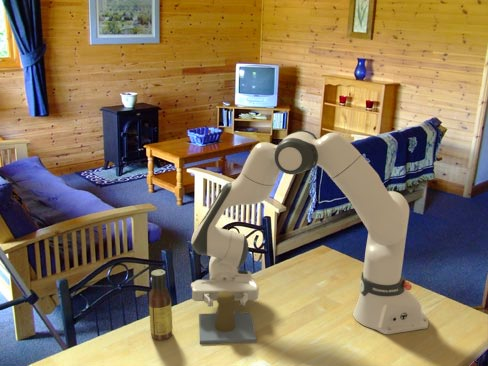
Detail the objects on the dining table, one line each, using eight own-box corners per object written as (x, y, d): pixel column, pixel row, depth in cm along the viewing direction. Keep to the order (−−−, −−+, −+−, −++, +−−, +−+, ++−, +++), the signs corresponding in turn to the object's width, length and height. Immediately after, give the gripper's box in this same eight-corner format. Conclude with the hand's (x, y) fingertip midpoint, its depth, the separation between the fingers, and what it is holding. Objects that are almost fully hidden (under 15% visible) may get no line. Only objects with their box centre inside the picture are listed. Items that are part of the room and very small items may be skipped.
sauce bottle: (176, 333, 154) (176, 271, 148) (162, 343, 149) (161, 280, 143) (159, 326, 157) (158, 265, 151) (145, 336, 152) (143, 273, 146)
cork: (233, 332, 153) (234, 299, 150) (213, 330, 154) (213, 297, 151) (236, 321, 159) (237, 288, 156) (216, 319, 160) (217, 286, 156)
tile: (250, 315, 164) (251, 312, 164) (256, 342, 151) (256, 339, 151) (198, 316, 163) (199, 313, 163) (199, 343, 150) (199, 340, 149)
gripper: (190, 272, 166) (191, 295, 153) (255, 271, 169) (261, 293, 155) (190, 290, 168) (190, 314, 155) (254, 289, 170) (260, 312, 157)
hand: (226, 304), depth 155 cm, fingers open, 8 cm apart
